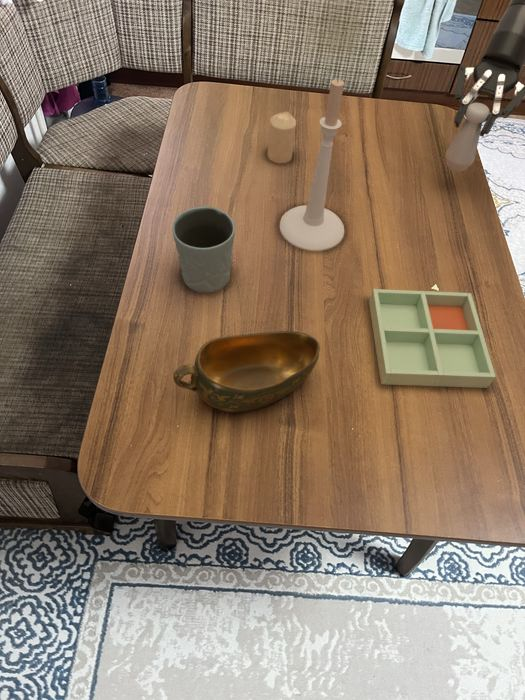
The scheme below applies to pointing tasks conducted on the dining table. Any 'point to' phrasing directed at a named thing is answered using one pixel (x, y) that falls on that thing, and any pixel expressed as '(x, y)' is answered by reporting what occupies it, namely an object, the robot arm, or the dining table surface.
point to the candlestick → (318, 192)
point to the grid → (429, 339)
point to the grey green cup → (204, 247)
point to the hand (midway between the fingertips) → (469, 130)
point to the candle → (281, 137)
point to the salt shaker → (467, 138)
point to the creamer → (250, 369)
